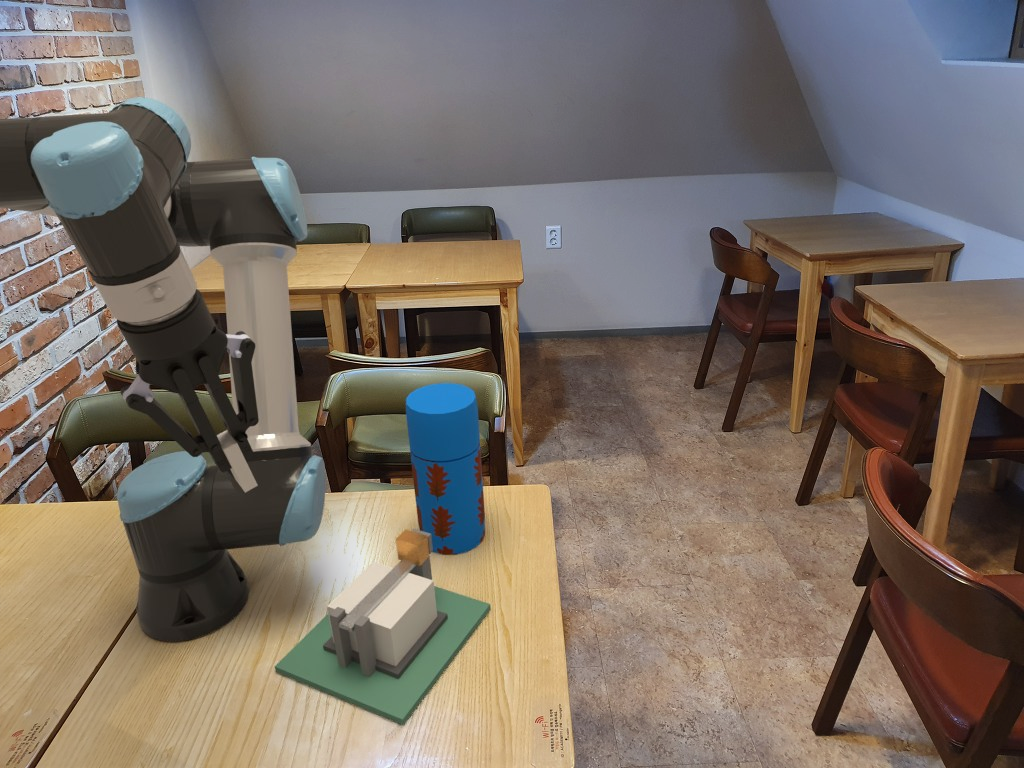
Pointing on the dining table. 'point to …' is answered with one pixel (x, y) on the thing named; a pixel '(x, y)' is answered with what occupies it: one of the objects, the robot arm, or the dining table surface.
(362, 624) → the lever on green base
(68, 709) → the dining table surface
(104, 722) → the dining table surface
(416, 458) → the thermos
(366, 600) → the grey and orange bar
